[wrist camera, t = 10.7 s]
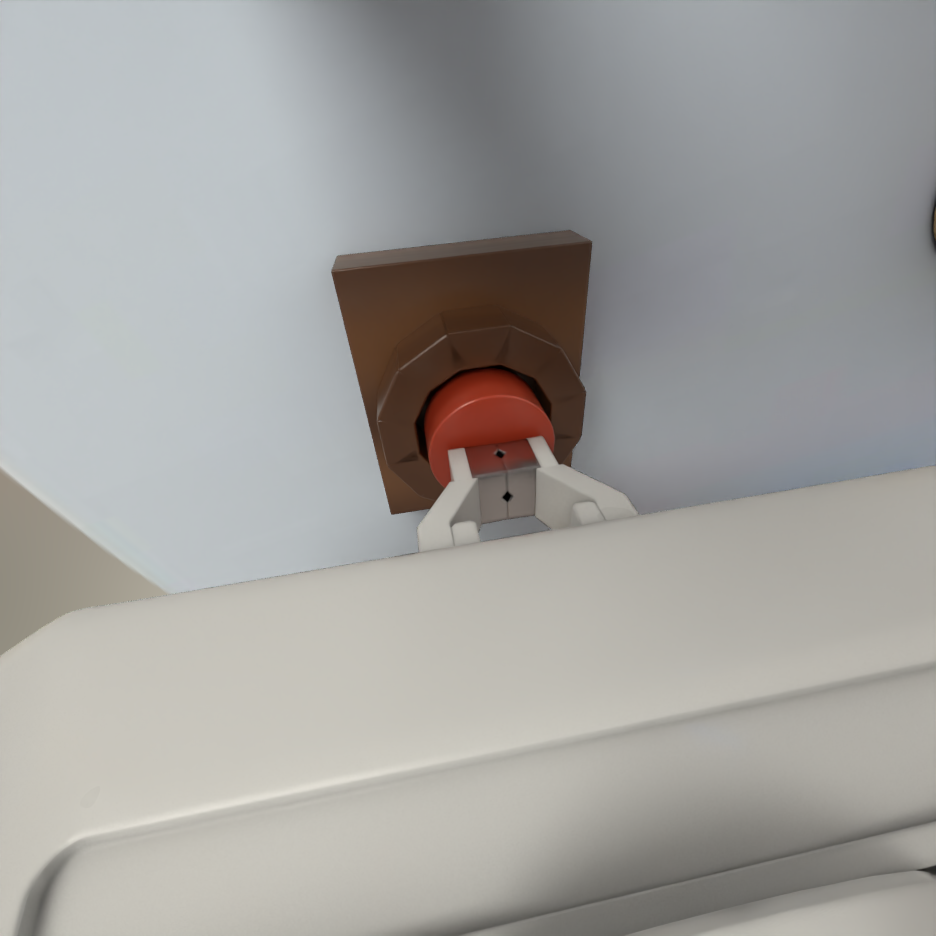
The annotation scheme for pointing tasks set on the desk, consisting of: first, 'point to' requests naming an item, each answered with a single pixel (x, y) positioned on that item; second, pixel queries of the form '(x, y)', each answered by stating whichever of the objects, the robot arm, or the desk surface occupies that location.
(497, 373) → the red button
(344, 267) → the button block
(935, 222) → the hand bell
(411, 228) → the desk surface
